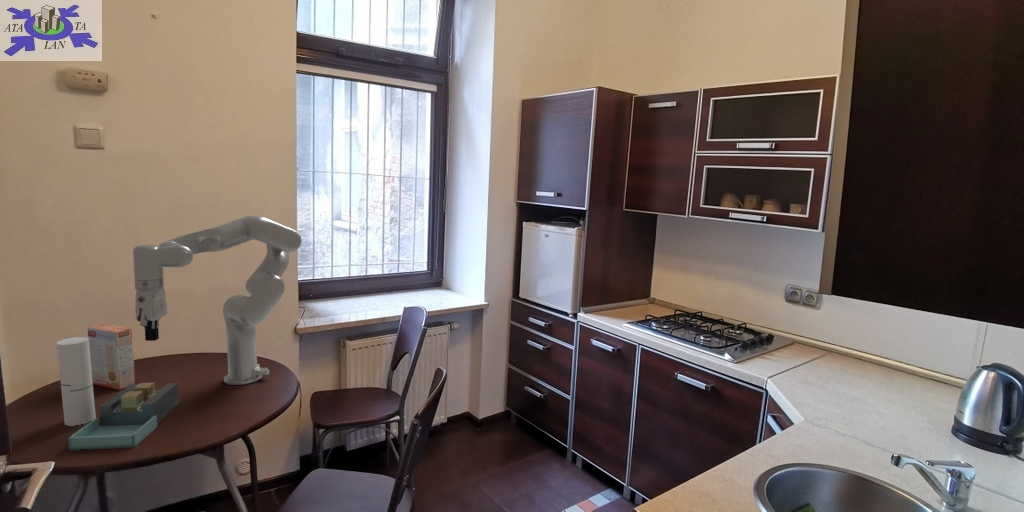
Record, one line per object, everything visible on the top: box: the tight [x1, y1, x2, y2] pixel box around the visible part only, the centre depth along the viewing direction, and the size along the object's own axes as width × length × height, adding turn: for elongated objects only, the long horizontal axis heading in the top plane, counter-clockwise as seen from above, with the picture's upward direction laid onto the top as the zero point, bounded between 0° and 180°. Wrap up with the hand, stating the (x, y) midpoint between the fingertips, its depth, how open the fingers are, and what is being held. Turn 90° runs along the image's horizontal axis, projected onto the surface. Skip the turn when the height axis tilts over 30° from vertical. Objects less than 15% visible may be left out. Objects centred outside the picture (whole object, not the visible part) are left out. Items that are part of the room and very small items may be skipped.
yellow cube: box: [121, 391, 144, 410], centre depth 153 cm, size 4×4×4 cm
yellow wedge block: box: [133, 382, 156, 400], centre depth 159 cm, size 4×4×4 cm
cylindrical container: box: [56, 336, 97, 427], centre depth 152 cm, size 7×7×25 cm
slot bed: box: [99, 382, 180, 426], centre depth 157 cm, size 14×16×7 cm
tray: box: [67, 416, 158, 451], centre depth 144 cm, size 16×12×4 cm
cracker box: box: [87, 323, 136, 391], centre depth 178 cm, size 14×6×21 cm, turn 71°
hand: (152, 339), depth 164 cm, fingers closed
